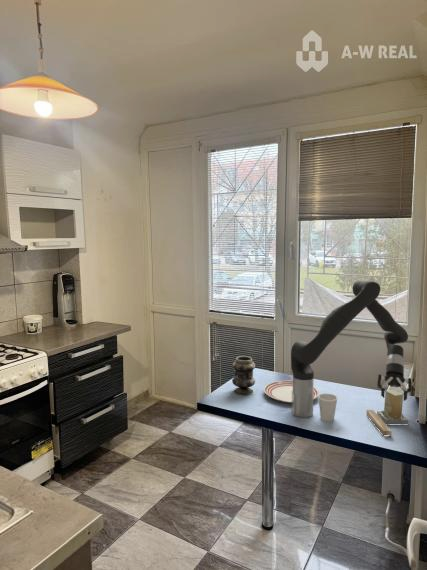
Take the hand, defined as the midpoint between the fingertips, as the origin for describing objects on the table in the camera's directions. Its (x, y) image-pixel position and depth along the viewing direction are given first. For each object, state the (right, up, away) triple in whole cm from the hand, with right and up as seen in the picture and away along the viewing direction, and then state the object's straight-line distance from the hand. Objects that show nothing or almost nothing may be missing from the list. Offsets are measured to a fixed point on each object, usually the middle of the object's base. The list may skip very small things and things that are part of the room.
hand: (393, 398), depth 175 cm
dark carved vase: (-65, -5, +31) cm, 72 cm away
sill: (-10, -9, -8) cm, 16 cm away
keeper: (-2, -9, -3) cm, 10 cm away
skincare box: (-2, -8, -3) cm, 9 cm away
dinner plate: (-41, -6, +25) cm, 49 cm away
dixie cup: (-30, -9, -1) cm, 31 cm away
